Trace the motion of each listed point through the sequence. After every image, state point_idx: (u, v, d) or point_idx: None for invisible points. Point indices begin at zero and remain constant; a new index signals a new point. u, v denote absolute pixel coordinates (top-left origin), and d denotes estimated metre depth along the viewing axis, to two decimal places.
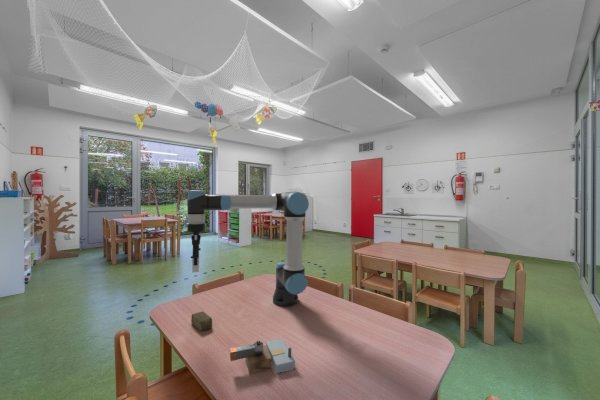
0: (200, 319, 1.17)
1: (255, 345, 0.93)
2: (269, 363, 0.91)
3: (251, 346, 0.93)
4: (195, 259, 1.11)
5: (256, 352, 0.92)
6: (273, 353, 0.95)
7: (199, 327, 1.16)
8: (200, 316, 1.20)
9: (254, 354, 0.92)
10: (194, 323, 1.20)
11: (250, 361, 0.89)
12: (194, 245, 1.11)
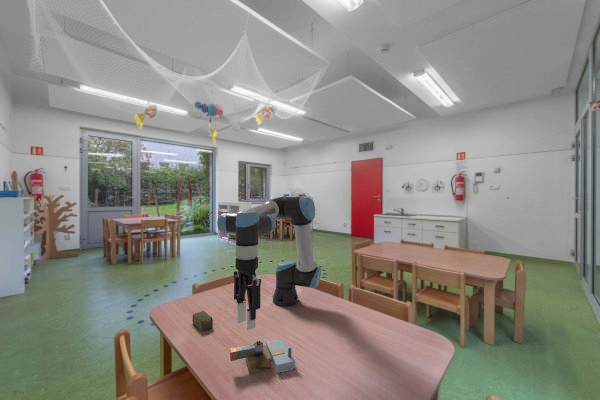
0: (201, 319, 1.18)
1: (255, 345, 0.93)
2: (269, 363, 0.91)
3: (251, 346, 0.93)
4: None
5: (256, 352, 0.92)
6: (273, 353, 0.95)
7: (200, 327, 1.17)
8: (201, 316, 1.20)
9: (254, 354, 0.92)
10: (195, 323, 1.20)
11: (250, 361, 0.89)
12: None
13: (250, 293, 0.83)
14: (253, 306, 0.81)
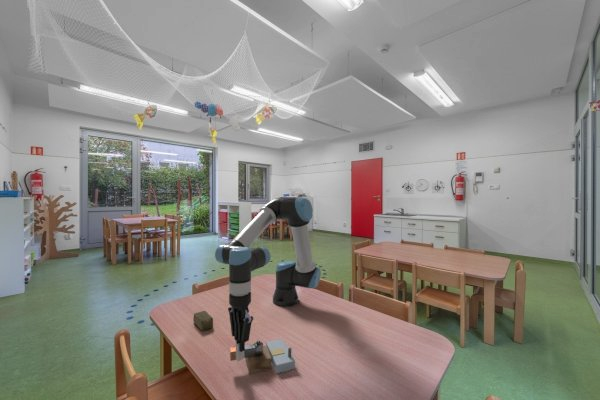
0: (201, 318, 1.18)
1: (255, 345, 0.93)
2: (269, 363, 0.91)
3: (251, 346, 0.93)
4: None
5: (256, 352, 0.92)
6: (273, 353, 0.95)
7: (200, 326, 1.17)
8: (201, 316, 1.21)
9: (254, 354, 0.92)
10: (196, 322, 1.21)
11: (250, 361, 0.89)
12: None
13: (241, 327, 0.87)
14: (242, 339, 0.86)
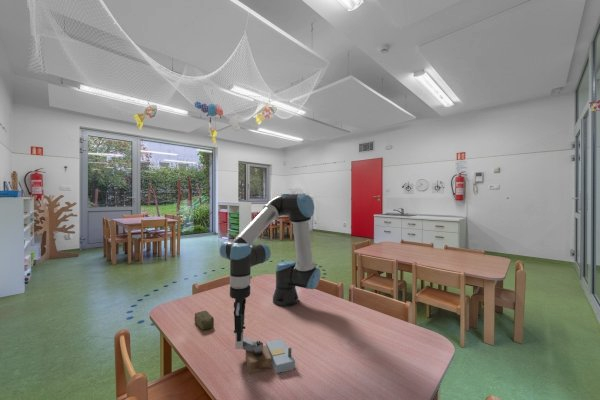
0: (202, 318, 1.18)
1: (255, 343, 0.94)
2: (269, 363, 0.91)
3: (252, 342, 0.95)
4: None
5: (253, 350, 0.93)
6: (273, 353, 0.95)
7: (201, 326, 1.17)
8: (202, 315, 1.21)
9: (252, 351, 0.94)
10: (197, 322, 1.21)
11: (250, 361, 0.89)
12: None
13: None
14: (235, 329, 0.92)
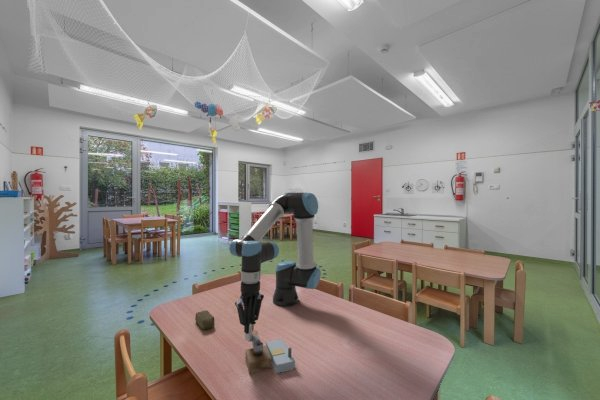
0: (203, 318, 1.19)
1: None
2: (269, 363, 0.91)
3: (256, 341, 0.96)
4: None
5: None
6: (273, 353, 0.95)
7: (201, 326, 1.17)
8: (203, 315, 1.21)
9: None
10: (197, 321, 1.22)
11: (250, 361, 0.89)
12: None
13: (244, 311, 0.99)
14: None
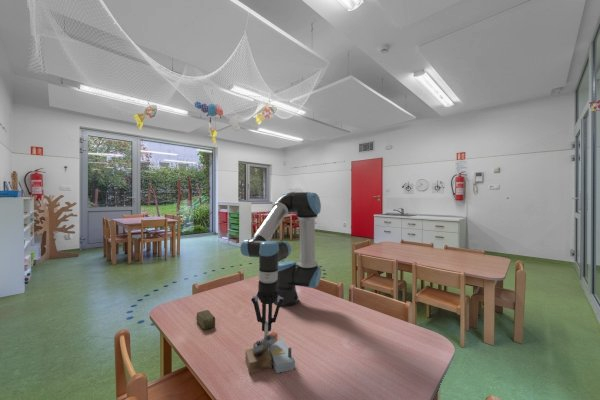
0: (203, 318, 1.19)
1: None
2: (269, 363, 0.91)
3: (262, 341, 0.96)
4: None
5: None
6: (273, 353, 0.95)
7: (202, 325, 1.18)
8: (204, 315, 1.22)
9: None
10: (198, 321, 1.22)
11: (250, 361, 0.89)
12: (278, 309, 1.01)
13: None
14: None
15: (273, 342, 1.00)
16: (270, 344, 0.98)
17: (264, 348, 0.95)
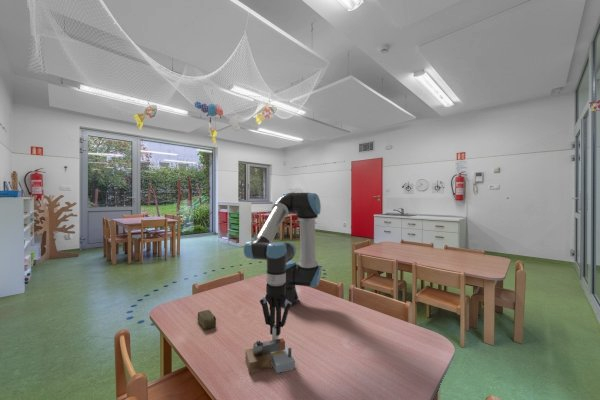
0: (204, 317, 1.19)
1: (261, 343, 0.94)
2: (269, 363, 0.91)
3: (264, 343, 0.95)
4: (279, 328, 0.98)
5: None
6: (273, 353, 0.95)
7: (203, 325, 1.18)
8: (204, 314, 1.22)
9: None
10: (199, 321, 1.22)
11: (250, 361, 0.89)
12: (286, 314, 0.97)
13: None
14: None
15: (278, 349, 0.95)
16: (273, 349, 0.95)
17: (264, 351, 0.93)
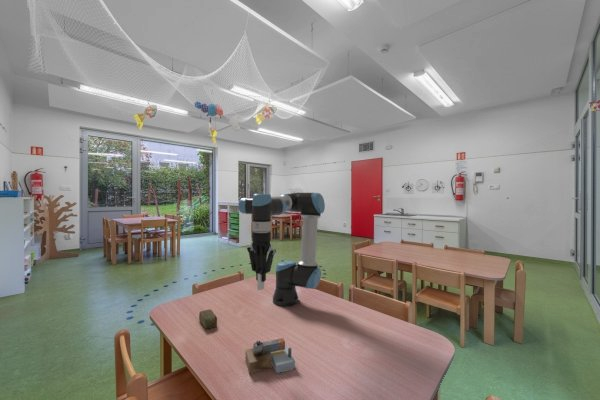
0: (205, 317, 1.20)
1: (261, 343, 0.94)
2: (269, 363, 0.91)
3: (264, 343, 0.95)
4: (264, 275, 1.03)
5: None
6: (273, 353, 0.95)
7: (204, 325, 1.18)
8: (206, 314, 1.22)
9: None
10: (201, 320, 1.23)
11: (250, 361, 0.89)
12: (270, 261, 1.01)
13: None
14: None
15: (278, 349, 0.95)
16: (273, 349, 0.95)
17: (264, 351, 0.93)
